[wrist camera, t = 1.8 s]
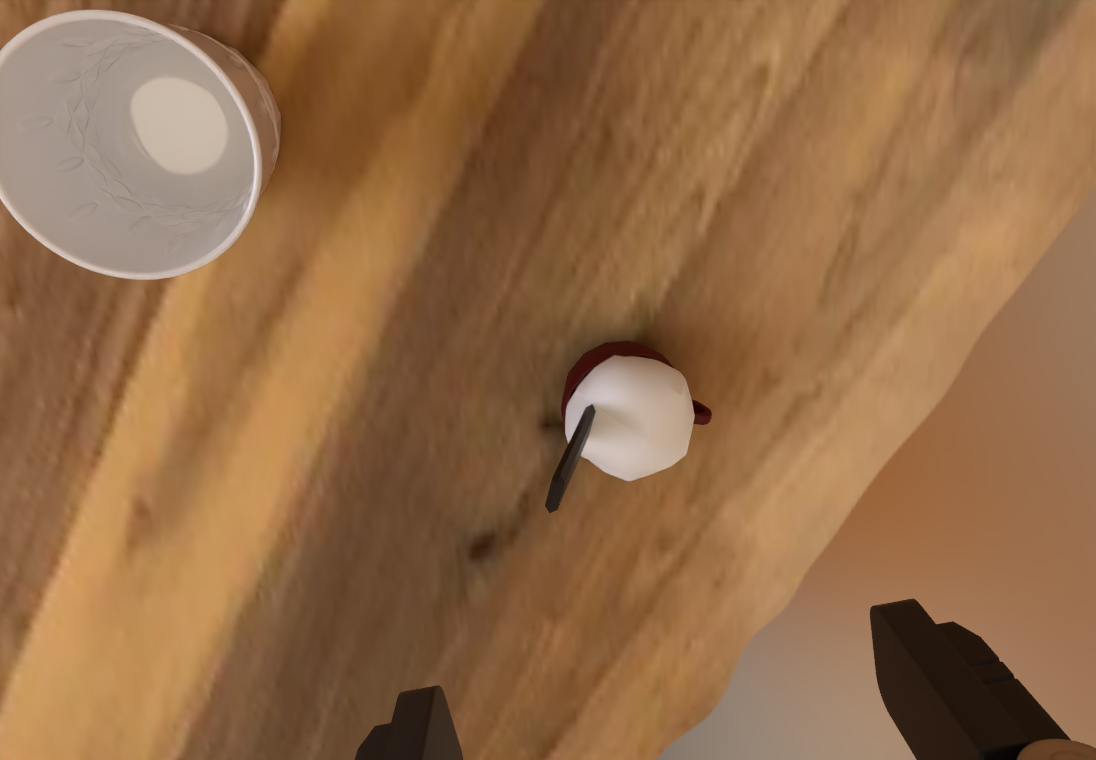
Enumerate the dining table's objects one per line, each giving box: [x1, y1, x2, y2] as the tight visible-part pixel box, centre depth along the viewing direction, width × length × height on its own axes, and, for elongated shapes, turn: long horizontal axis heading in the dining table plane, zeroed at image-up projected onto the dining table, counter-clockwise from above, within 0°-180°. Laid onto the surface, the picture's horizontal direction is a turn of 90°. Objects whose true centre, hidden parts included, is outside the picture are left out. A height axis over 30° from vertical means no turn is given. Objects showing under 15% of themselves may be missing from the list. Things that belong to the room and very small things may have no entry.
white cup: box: [0, 10, 281, 280], centre depth 28 cm, size 8×8×10 cm
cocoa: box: [545, 341, 712, 513], centre depth 35 cm, size 10×6×12 cm, turn 55°
